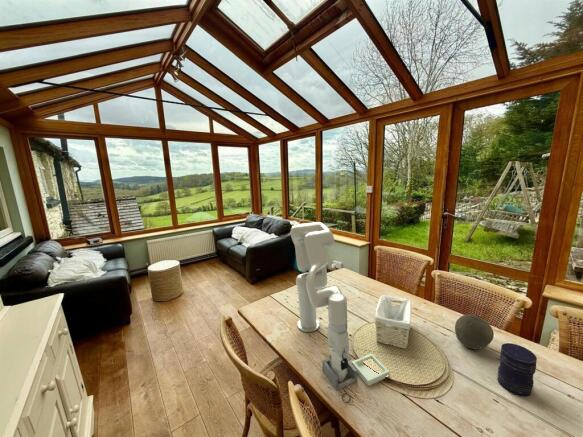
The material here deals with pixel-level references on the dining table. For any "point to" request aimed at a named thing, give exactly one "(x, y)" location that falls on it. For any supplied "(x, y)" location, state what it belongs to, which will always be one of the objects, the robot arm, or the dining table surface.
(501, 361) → the storage jar
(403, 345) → the storage basket
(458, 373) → the dining table surface
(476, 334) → the grey oval rock
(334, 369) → the syrup box
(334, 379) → the bay
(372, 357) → the tray
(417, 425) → the dining table surface
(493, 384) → the dining table surface
